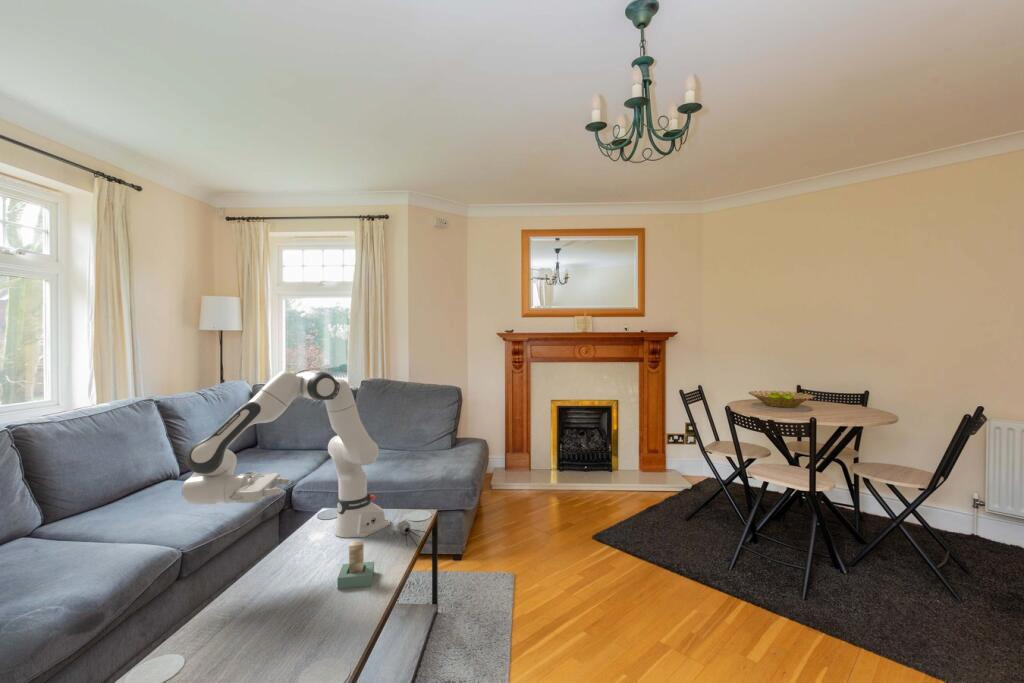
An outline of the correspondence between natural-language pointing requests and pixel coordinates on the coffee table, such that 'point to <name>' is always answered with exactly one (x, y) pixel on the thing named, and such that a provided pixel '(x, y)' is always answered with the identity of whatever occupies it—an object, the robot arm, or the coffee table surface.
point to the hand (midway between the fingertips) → (285, 486)
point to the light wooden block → (356, 557)
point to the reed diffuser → (404, 529)
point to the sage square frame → (356, 576)
